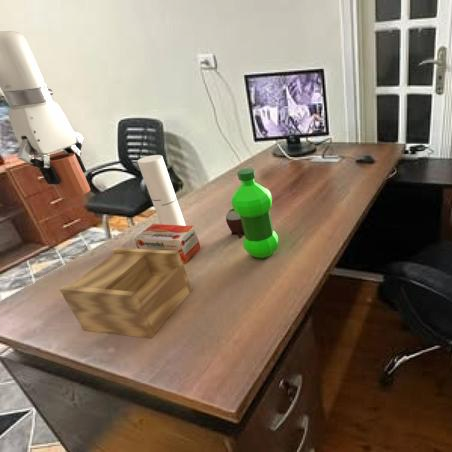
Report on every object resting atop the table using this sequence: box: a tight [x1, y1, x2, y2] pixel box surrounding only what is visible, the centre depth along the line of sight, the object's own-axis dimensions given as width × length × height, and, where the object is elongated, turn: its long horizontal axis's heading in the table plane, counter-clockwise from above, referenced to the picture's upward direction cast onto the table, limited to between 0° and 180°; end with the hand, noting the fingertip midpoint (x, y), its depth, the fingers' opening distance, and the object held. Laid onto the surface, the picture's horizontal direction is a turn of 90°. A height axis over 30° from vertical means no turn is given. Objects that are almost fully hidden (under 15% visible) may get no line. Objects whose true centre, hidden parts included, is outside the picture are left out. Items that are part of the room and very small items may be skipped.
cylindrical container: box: [136, 154, 187, 226], centre depth 113 cm, size 7×7×25 cm
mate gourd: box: [225, 208, 244, 239], centre depth 109 cm, size 8×8×15 cm
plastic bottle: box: [231, 168, 279, 259], centre depth 95 cm, size 10×10×25 cm
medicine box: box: [134, 223, 201, 264], centre depth 103 cm, size 15×8×8 cm, turn 76°
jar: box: [49, 152, 91, 200], centre depth 82 cm, size 6×6×9 cm
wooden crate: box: [58, 247, 193, 339], centre depth 81 cm, size 18×16×12 cm
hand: (67, 177), depth 82 cm, fingers closed on jar, 6 cm apart
